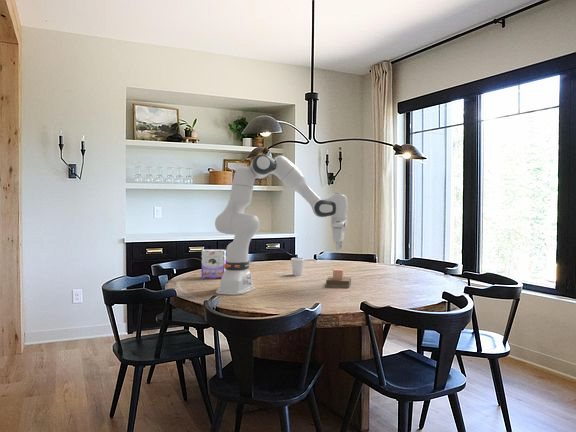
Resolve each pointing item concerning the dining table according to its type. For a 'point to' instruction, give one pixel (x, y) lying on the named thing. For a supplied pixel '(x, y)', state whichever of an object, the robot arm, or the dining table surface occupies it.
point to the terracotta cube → (338, 274)
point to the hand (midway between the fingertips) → (338, 249)
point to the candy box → (213, 263)
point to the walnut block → (338, 282)
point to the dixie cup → (297, 266)
